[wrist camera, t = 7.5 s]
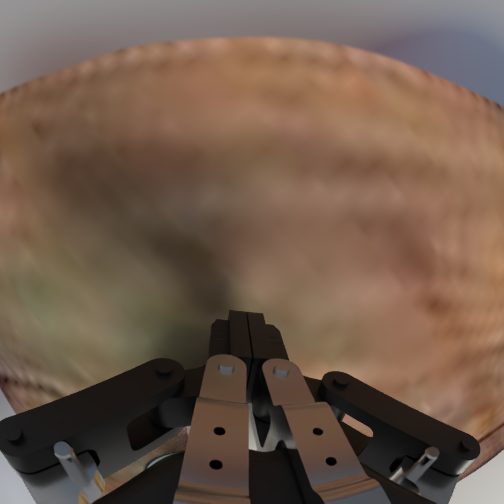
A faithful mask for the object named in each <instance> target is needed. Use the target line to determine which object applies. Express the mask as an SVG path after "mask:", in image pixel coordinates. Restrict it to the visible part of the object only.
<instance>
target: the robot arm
mask: <svg viewBox="0 0 504 504" xmlns="http://www.w3.org/2000/svg"><path fill="white" fill-rule="evenodd" d="M247 403H251V404H252V411H251V415H250V420H251V425H252V429H253V434H254V438H255V443H256V447H257V451H256V450H251V449H249V405H248V404H247ZM345 414H347V415H349V416H351V417H353V418H354V419H356V420H358V421H359V422H361V423H363V424H365V425H366V426H368V427H370V428H371V429H372V431H373V437H368V436H366V435H364V434H362V433H361V432H359V431H357V430H356V429H354V428H352V427H351V426H349V425H347V424H346V423H344V422H342V420H343V418H344V416H345ZM185 426H191V427H190V431H189V436H188V441H187V445H186V450H185V451H184V452H179V453H175V454H172V455H169V456H167V457H164V458H162V459H161V460H159V461H157V462H156V463H154V464H153V465H151V466H150V467H148V468H147V469H145V470H144V471H143V472H141V473H140V474H138V475H137V476H135V477H134V478H132V479H131V480H129V481H128V482H126V483H124V484H123V485H121V486H120V487H118V488H117V489H115V490H113V491H112V492H110V493H108V494H107V495H105V496H103V497H102V498H100V499H98V500H97V501H95V502H94V500H96V499H97V498H98V497H99V496H101V494H102V493H103V491H104V488H105V483H104V478H106V477H108V476H110V475H111V474H113V473H115V472H117V471H119V470H120V469H122V468H124V467H126V466H127V465H129V464H131V463H132V462H134V461H136V460H137V459H139V458H141V457H142V456H144V455H146V454H147V453H149V452H150V451H152V450H154V449H155V448H157V447H158V446H160V445H161V444H163V443H165V442H166V441H168V440H169V439H171V438H172V437H174V436H175V435H177V434H178V433H179V432H181V430H182V429H183V427H185ZM0 451H1V452H2V453H3V455H4V456H5V458H6V459H7V460H8V462H9V464H10V465H11V467H12V468H13V469H14V470H15V471H16V473H17V474H18V475H19V476H20V477H21V478H22V480H23V482H24V483H25V485H26V487H27V489H28V490H29V492H30V494H31V495H32V497H33V499H34V500H35V502H36V503H37V504H448V503H449V501H450V498H451V496H452V493H453V491H454V488H455V485H456V483H457V480H458V477H459V476H460V475H461V474H462V473H463V472H464V471H465V470H466V469H467V468H468V467H469V466H470V465H471V463H472V462H473V461H474V460H475V459H476V458H477V457H478V456H479V454H480V445H479V443H478V441H477V440H476V439H475V438H474V437H473V436H471V435H469V434H467V433H465V432H462V431H460V430H458V429H456V428H454V427H451V426H449V425H447V424H445V423H443V422H440V421H438V420H436V419H434V418H432V417H430V416H428V415H426V414H424V413H422V412H419V411H417V410H415V409H413V408H411V407H409V406H407V405H405V404H403V403H401V402H399V401H397V400H396V399H394V398H392V397H390V396H388V395H386V394H384V393H382V392H380V391H378V390H376V389H375V388H373V387H371V386H369V385H367V384H365V383H363V382H362V381H360V380H358V379H356V378H354V377H352V376H351V375H349V374H346V373H344V372H339V371H332V372H328V373H326V374H325V375H324V376H323V378H322V380H318V379H314V378H309V377H306V376H303V375H302V373H301V371H300V369H299V367H298V366H297V365H295V364H294V363H293V362H290V361H289V358H288V355H287V352H286V349H285V346H284V343H283V340H282V337H281V334H280V331H279V330H278V329H277V328H276V327H275V326H274V325H269V324H265V320H264V316H263V313H253V312H243V311H234V310H229V316H228V320H220V319H217V320H216V321H215V322H214V323H213V324H212V327H211V336H210V345H209V355H208V361H207V363H206V364H205V365H204V366H202V367H200V368H197V369H192V370H184V368H183V366H182V365H181V364H180V363H178V362H176V361H174V360H171V359H166V358H158V359H153V360H151V361H148V362H146V363H144V364H142V365H140V366H137V367H135V368H133V369H131V370H128V371H126V372H124V373H122V374H119V375H117V376H115V377H112V378H110V379H108V380H105V381H103V382H101V383H98V384H96V385H93V386H91V387H88V388H86V389H84V390H81V391H79V392H76V393H74V394H71V395H68V396H66V397H63V398H61V399H58V400H55V401H53V402H50V403H48V404H45V405H42V406H39V407H37V408H34V409H31V410H28V411H25V412H22V413H20V414H17V415H14V416H11V417H8V418H5V419H3V420H1V421H0Z"/></svg>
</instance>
